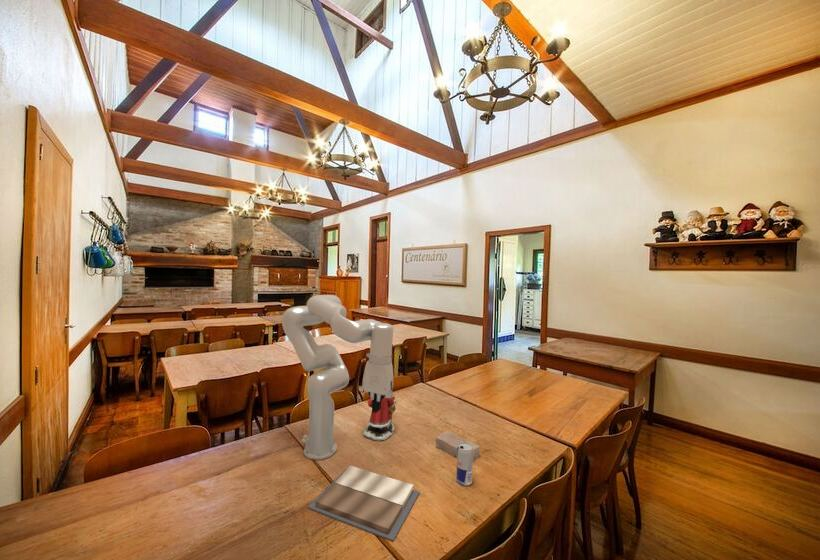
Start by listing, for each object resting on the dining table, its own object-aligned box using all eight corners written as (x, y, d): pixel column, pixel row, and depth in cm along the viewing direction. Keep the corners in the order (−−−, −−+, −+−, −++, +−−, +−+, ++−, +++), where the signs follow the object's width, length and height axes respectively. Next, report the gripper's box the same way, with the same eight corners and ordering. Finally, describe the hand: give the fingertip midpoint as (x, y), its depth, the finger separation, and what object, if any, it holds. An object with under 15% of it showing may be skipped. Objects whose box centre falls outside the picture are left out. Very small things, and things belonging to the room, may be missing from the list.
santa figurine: (380, 420, 148) (382, 369, 148) (403, 429, 140) (405, 375, 139) (355, 434, 134) (357, 378, 134) (379, 445, 126) (381, 385, 126)
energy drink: (454, 476, 107) (455, 442, 107) (469, 476, 107) (470, 442, 107) (458, 486, 102) (459, 450, 102) (474, 486, 102) (475, 450, 102)
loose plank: (334, 486, 99) (334, 482, 99) (350, 469, 107) (350, 465, 107) (402, 510, 90) (402, 505, 90) (413, 489, 98) (413, 484, 98)
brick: (480, 456, 121) (480, 444, 121) (469, 465, 114) (469, 452, 114) (446, 440, 132) (446, 429, 132) (434, 448, 126) (435, 436, 126)
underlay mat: (307, 508, 90) (307, 506, 90) (346, 470, 108) (346, 468, 108) (393, 541, 79) (393, 539, 79) (419, 493, 98) (419, 491, 98)
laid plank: (315, 506, 90) (315, 501, 90) (333, 487, 98) (334, 483, 98) (388, 534, 81) (388, 528, 81) (401, 511, 89) (401, 506, 89)
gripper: (356, 357, 105) (351, 409, 105) (394, 365, 99) (390, 421, 100) (367, 352, 112) (363, 401, 112) (404, 360, 106) (399, 412, 106)
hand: (376, 410), depth 106 cm, fingers closed
